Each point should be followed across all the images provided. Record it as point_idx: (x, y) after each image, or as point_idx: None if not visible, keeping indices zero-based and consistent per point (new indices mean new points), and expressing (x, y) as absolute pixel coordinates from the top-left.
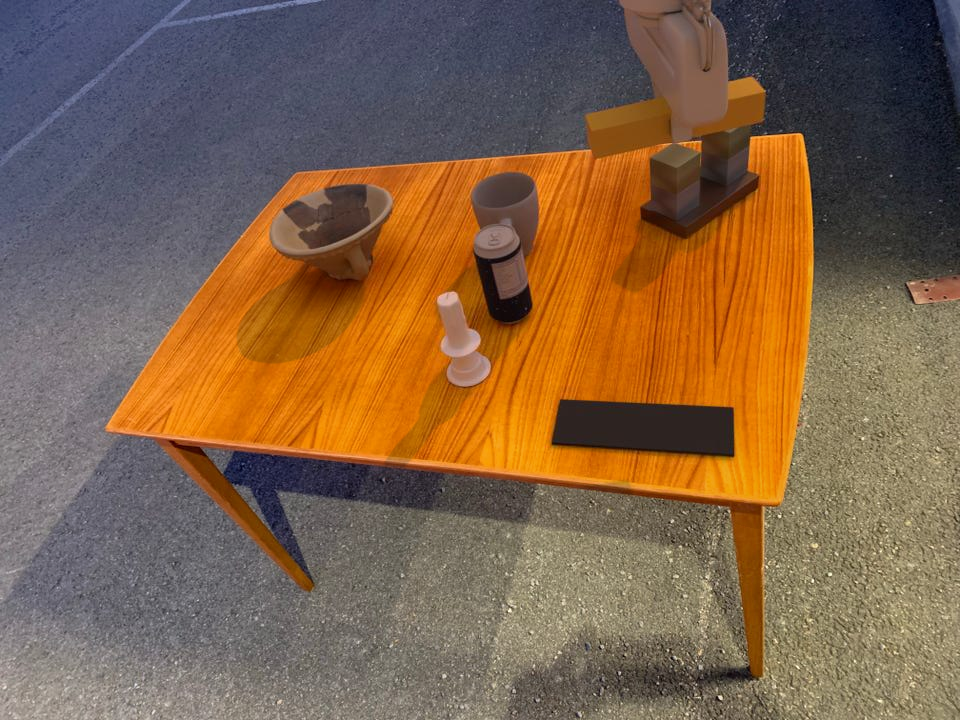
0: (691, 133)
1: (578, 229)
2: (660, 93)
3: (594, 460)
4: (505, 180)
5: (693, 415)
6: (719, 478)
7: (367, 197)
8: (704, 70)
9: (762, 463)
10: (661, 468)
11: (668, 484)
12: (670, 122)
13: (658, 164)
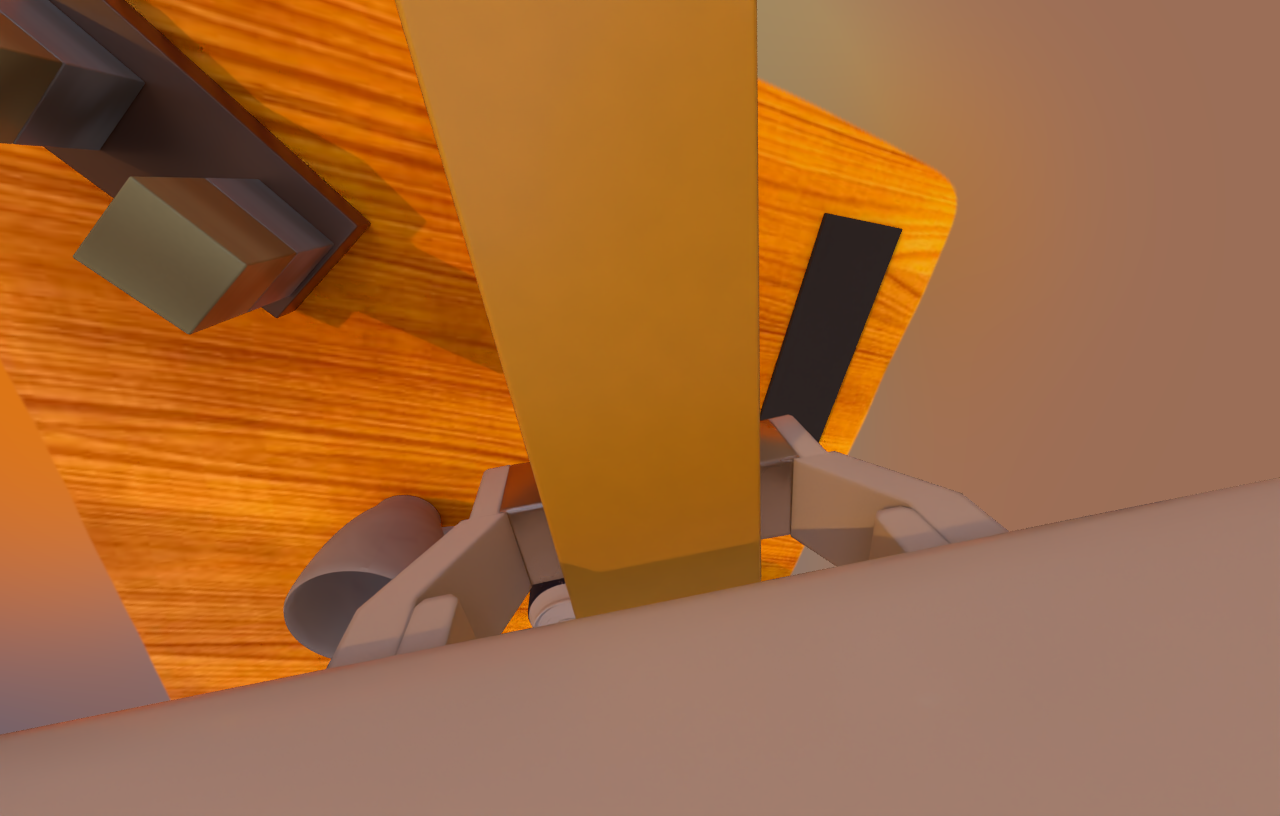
0: (798, 424)
1: (343, 426)
2: (511, 593)
3: (849, 398)
4: (300, 611)
5: (825, 274)
6: (921, 254)
7: None
8: (1183, 675)
9: (920, 191)
10: (884, 323)
11: (908, 317)
12: (778, 534)
13: (215, 309)
